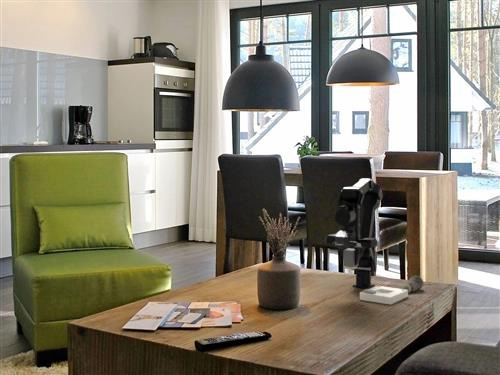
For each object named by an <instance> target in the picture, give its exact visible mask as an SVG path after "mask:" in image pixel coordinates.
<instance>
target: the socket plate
mask: <svg viewBox="0 0 500 375" xmlns="http://www.w3.org/2000/svg"><path fill="white" fill-rule="evenodd" d="M408 294H409V293H408V290H404V289H403V288H397V287H391V286H390V287H389V286H382V285H374V286H372V287H369V288H365V289H364V290H362V291H361V292H359V300H361V301H366V302H371V303H378V304H386V305H393V304H395V303H397V302H400V301H401V300H405V299H406V298H408V297H409V296H408Z"/></svg>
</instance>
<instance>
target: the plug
mask: <svg viewBox="0 0 500 375" xmlns="http://www.w3.org/2000/svg"><path fill="white" fill-rule="evenodd" d="M342 259H343V260H342V261H343V263H342V265H343V267H344V269H346V270H351V271H354V270H353V269H356V268H357V266H358V264H357V265H355V249H353V248H350V247H348V249H344V250H343V258H342Z"/></svg>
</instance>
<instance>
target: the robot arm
mask: <svg viewBox="0 0 500 375" xmlns="http://www.w3.org/2000/svg"><path fill="white" fill-rule="evenodd" d="M383 195H384V194H383V191H382V188H381V186H380V185H378V184H377V183H376V182H375V181H374V179H372V178H360V179H359V180H358V182H356V183H355V184H354V185H352V186H344V187H343V188H342V190H340V193H339V196H338V201H337V207H340V208H339V209H338V210H336V212H335V215H334V219H335V222H336V223H337V224H338V225H339V226H340V225H341V227H340V230H338V231H337V232H336V233H333V234H328V235H326V237H325V243H324V244H330V245H331V244H334V247H336V248H337V249H338V250H339V252H340V255H341V256H342V259H343V250H344V249H348V248H349V244H354V245H356V246H353V248H352V249H355V265H357V264H358V266H357V268H356V269H353V270H352V271H355V283H353V284H352V285H351V286H352V287H358V288H364V289H370V288H373V287H375V286H376V284H375V283H372V273H373V272H377V262H376V260H375V257H374V251H373V249H372V248H375V247H379V246H378V244H379V243H378V239H377V238H375V237H372V235H373V228H374V222H375V213H376V210H377V209H379V207H380V205H381V201H382V199H383V197H384V196H383ZM361 206H362V215H361V222H360V208H361Z"/></svg>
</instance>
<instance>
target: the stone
mask: <svg viewBox="0 0 500 375" xmlns="http://www.w3.org/2000/svg"><path fill="white" fill-rule="evenodd" d="M423 286H424V280H423V278H422V277H421V276H419V275H412V276H411V277H409V279H408V281H407V283H406V284H405V285H404V286H403V288H402V289H404V290H408V294H410V293H411V292H412V293H413V292H416V291H418V290H421V289H422V288H423Z"/></svg>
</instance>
